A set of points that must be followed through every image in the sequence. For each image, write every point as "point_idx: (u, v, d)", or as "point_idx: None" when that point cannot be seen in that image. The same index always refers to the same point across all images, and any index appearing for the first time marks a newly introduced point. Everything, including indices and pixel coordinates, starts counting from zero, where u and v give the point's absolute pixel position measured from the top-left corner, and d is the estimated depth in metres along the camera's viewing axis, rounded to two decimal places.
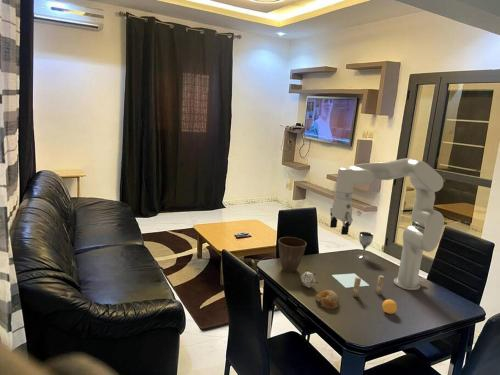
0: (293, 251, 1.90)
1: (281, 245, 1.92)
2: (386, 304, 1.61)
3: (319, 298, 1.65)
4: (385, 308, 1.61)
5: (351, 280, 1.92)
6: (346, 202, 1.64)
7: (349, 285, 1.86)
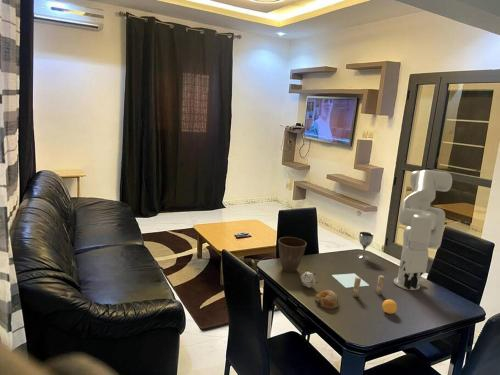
0: (293, 251, 1.90)
1: (281, 245, 1.92)
2: (386, 304, 1.61)
3: (319, 298, 1.65)
4: (385, 308, 1.61)
5: (351, 280, 1.92)
6: None
7: (349, 285, 1.86)
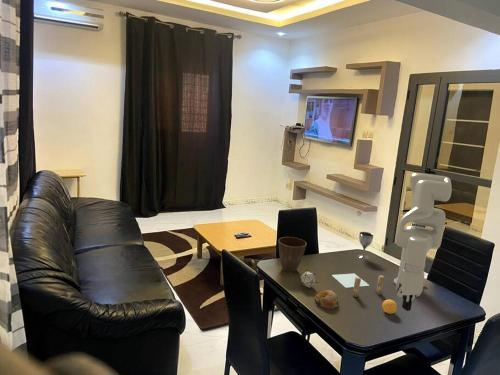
0: (293, 251, 1.90)
1: (281, 245, 1.92)
2: (386, 304, 1.61)
3: (318, 298, 1.65)
4: (385, 308, 1.61)
5: (351, 280, 1.92)
6: None
7: (349, 285, 1.86)
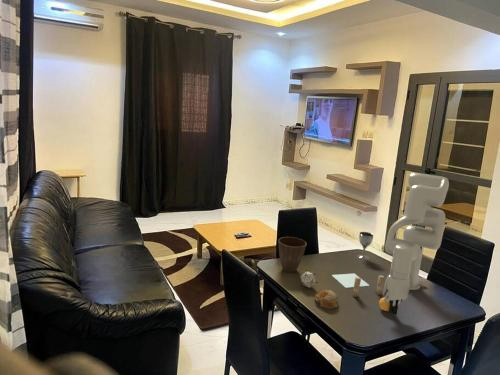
0: (293, 251, 1.90)
1: (281, 245, 1.92)
2: (381, 301, 1.64)
3: (318, 298, 1.65)
4: (382, 305, 1.63)
5: (351, 280, 1.92)
6: None
7: (349, 285, 1.86)
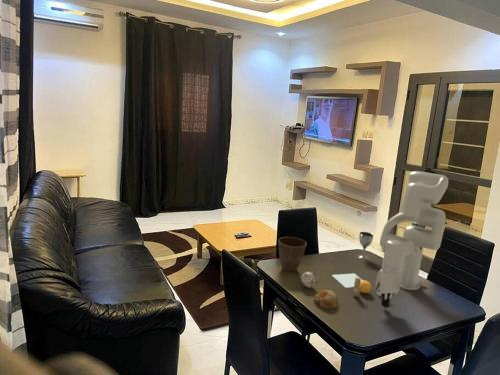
0: (293, 251, 1.90)
1: (281, 245, 1.92)
2: (361, 286, 1.78)
3: (318, 298, 1.65)
4: (359, 288, 1.79)
5: (351, 280, 1.92)
6: None
7: (349, 285, 1.86)
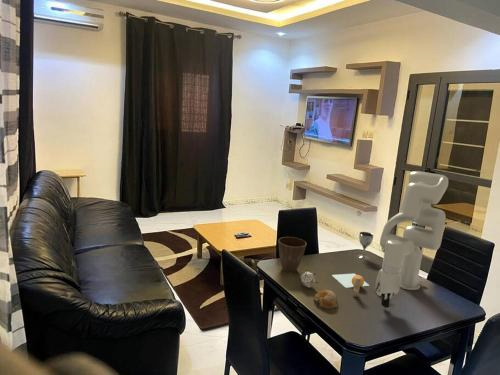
0: (293, 251, 1.90)
1: (281, 245, 1.92)
2: (352, 279, 1.86)
3: (318, 298, 1.65)
4: (353, 280, 1.84)
5: (351, 280, 1.92)
6: None
7: (349, 285, 1.86)
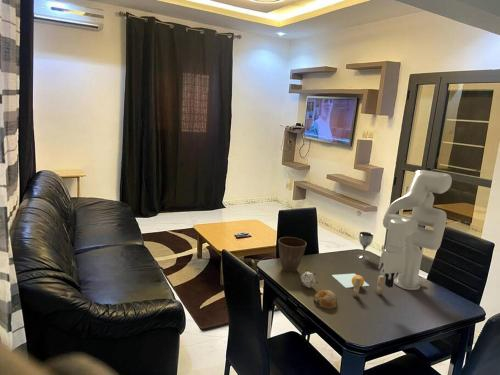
0: (293, 251, 1.90)
1: (281, 245, 1.92)
2: (352, 279, 1.86)
3: (317, 298, 1.65)
4: (353, 280, 1.84)
5: (351, 280, 1.92)
6: None
7: (349, 285, 1.86)
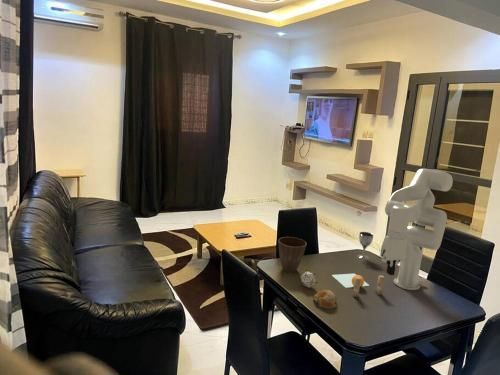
0: (293, 251, 1.90)
1: (281, 245, 1.92)
2: (352, 279, 1.86)
3: (317, 298, 1.65)
4: (353, 280, 1.84)
5: (351, 280, 1.92)
6: None
7: (349, 285, 1.86)
